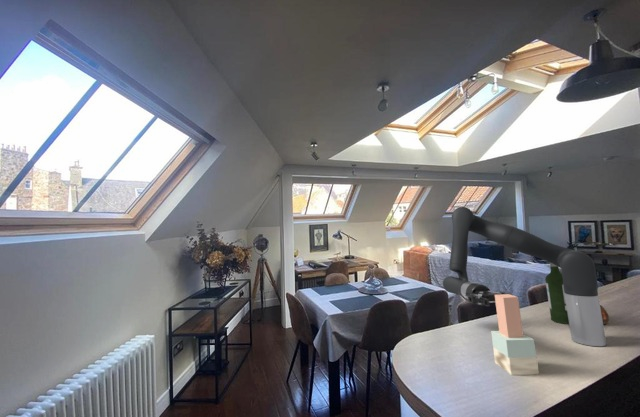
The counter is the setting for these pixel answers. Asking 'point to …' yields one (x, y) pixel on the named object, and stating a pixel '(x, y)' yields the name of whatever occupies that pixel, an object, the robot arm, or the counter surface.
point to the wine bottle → (556, 296)
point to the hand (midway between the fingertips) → (501, 302)
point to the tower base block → (516, 364)
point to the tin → (604, 315)
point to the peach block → (508, 315)
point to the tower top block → (513, 345)
